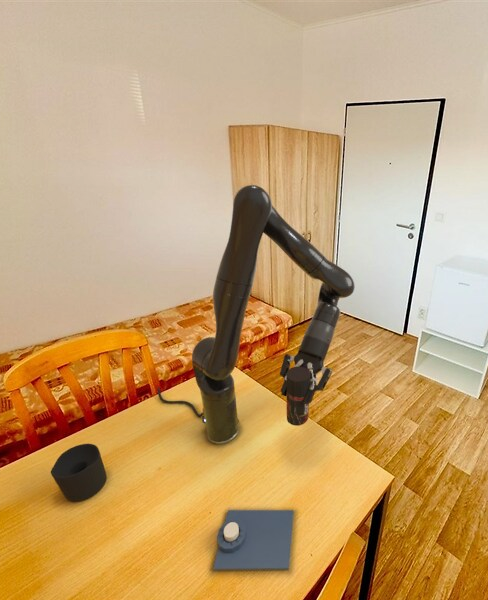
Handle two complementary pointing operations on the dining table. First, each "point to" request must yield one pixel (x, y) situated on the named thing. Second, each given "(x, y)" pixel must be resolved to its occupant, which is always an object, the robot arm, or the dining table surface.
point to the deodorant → (297, 395)
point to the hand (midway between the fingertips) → (294, 399)
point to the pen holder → (79, 472)
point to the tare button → (231, 531)
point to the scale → (256, 541)
